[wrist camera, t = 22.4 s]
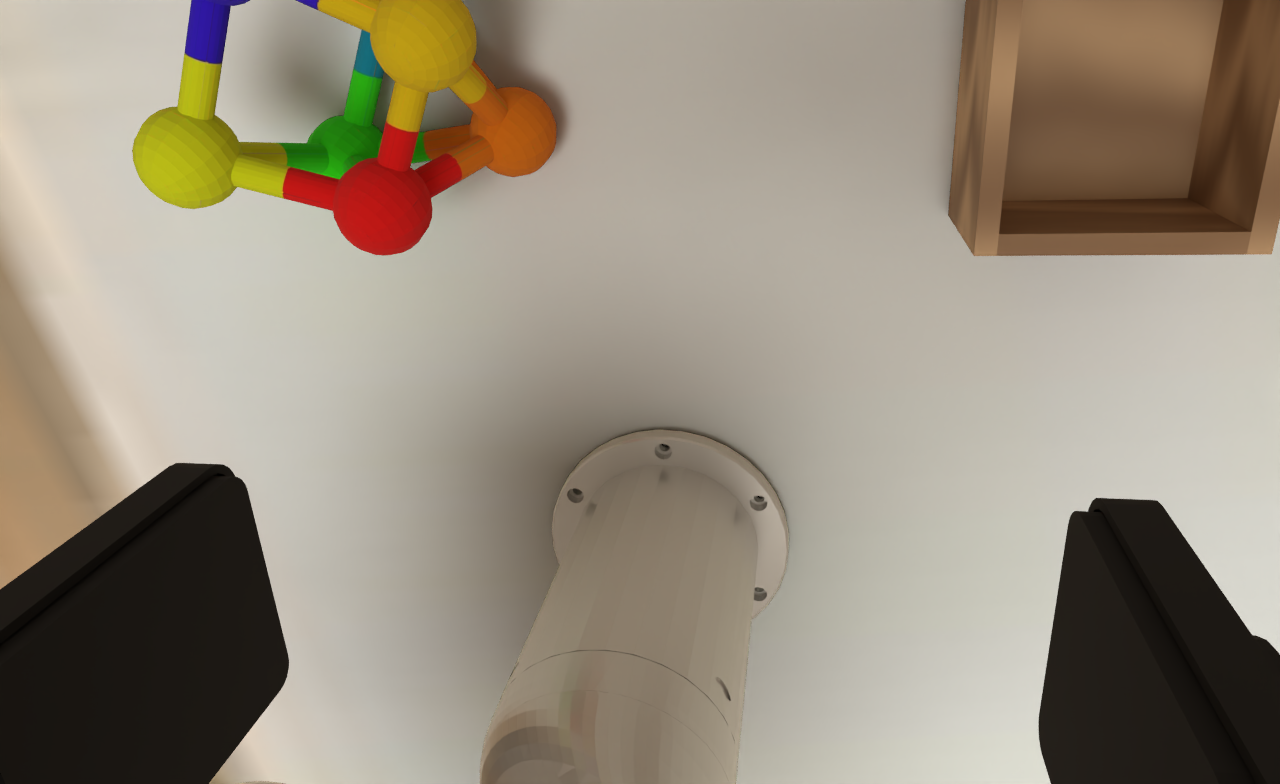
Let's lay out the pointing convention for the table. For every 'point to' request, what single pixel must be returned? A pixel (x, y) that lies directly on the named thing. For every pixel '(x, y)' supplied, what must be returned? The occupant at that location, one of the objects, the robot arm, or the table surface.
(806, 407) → the table surface
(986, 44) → the brown wooden open box
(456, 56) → the molecular model
